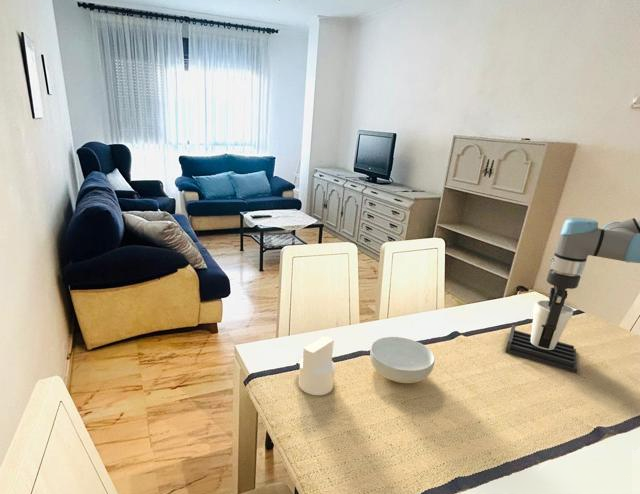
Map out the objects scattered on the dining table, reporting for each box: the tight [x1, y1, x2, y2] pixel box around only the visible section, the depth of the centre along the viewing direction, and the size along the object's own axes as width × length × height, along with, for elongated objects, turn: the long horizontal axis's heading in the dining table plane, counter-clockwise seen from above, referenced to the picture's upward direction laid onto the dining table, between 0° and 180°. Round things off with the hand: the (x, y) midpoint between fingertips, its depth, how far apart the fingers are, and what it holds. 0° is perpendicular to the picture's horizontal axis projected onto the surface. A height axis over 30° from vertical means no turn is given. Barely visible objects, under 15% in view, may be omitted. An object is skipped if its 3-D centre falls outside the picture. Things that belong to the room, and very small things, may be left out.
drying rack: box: [504, 324, 578, 374], centre depth 119 cm, size 18×14×4 cm
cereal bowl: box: [369, 336, 436, 384], centre depth 105 cm, size 17×17×7 cm
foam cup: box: [530, 299, 574, 350], centre depth 117 cm, size 10×9×13 cm
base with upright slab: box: [298, 335, 336, 396], centre depth 98 cm, size 9×9×12 cm
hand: (543, 340), depth 118 cm, fingers closed on foam cup, 9 cm apart
